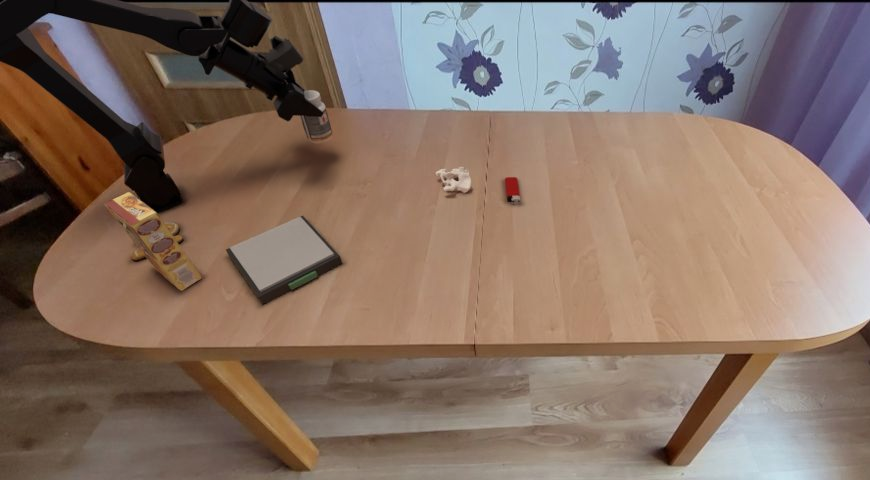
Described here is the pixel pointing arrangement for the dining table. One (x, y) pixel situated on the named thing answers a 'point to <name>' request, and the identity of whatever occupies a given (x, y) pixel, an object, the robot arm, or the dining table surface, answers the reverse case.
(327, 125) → the pill bottle
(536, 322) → the dining table surface
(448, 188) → the hip bone replica
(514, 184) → the lighter
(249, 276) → the kitchen scale
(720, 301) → the dining table surface
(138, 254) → the cookie
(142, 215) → the candy box
